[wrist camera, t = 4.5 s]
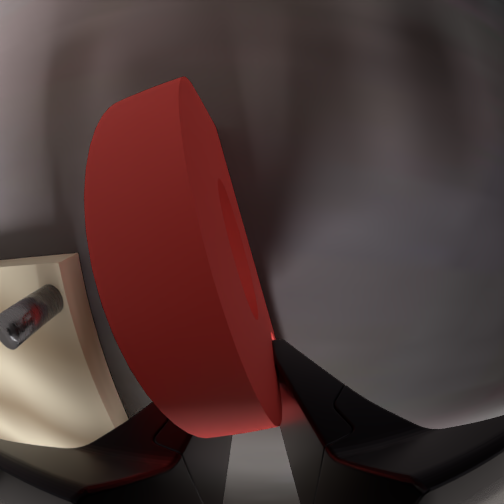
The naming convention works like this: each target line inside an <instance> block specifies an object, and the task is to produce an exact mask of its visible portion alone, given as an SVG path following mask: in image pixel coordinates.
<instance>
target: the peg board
mask: <svg viewBox="0 0 504 504" xmlns="http://www.w3.org/2000/svg"><path fill="white" fill-rule="evenodd" d="M127 420H128V417H127V414H126V412H125V410H124V407H123V405H122V403H121V400H120V398H119V395H118V393H117V390H116V388H115V385H114V382H113V380H112V377H111V374H110V371H109V369H108V366H107V363H106V360H105V357H104V354H103V351H102V348H101V345H100V341H99V338H98V335H97V331H96V328H95V324H94V321H93V317H92V314H91V310H90V306H89V302H88V298H87V294H86V289H85V285H84V280H83V275H82V271H81V266H80V260H79V255H78V253H70V254H60V255H49V256H38V257H28V258H18V259H8V260H0V439H3V440H7V441H13V442H19V443H25V444H32V445H39V446H48V447H58V448H77V447H82V446H85V445H87V444H89V443H91V442H93V441H95V440H97V439H98V438H100V437H102V436H103V435H105V434H106V433H108V432H110V431H111V430H113V429H114V428H116V427H118V426H119V425H121V424H122V423H124V422H126V421H127Z"/></svg>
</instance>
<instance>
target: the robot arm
mask: <svg viewBox="0 0 504 504" xmlns="http://www.w3.org/2000/svg"><path fill="white" fill-rule="evenodd" d="M272 347H273V356H274V362H275V367H276V371H277V376H278V380H279V386H280V393H281V402H282V421H281V424H280V428H281V432H282V436H283V440H284V444H285V448H286V451H287V455H288V459H289V463H290V467H291V470H292V474H293V478H294V482H295V485H296V489H297V493H298V496H299V500H300V504H504V415H503V416H499V417H496V418H492V419H488V420H484V421H480V422H475V423H471V424H466V425H461V426H456V427H451V428H445V429H429V428H424V427H421V426H418V425H416V424H414V423H412V422H410V421H408V420H406V419H403V418H401V417H399V416H397V415H395V414H393V413H391V412H389V411H387V410H385V409H383V408H381V407H380V406H378V405H376V404H374V403H372V402H371V401H369V400H367V399H365V398H364V397H362V396H361V395H359V394H358V393H356V392H355V391H353V390H352V389H350V388H349V387H348V386H345V385H344V384H343V383H342V382H340V381H339V380H338V379H336V378H335V377H333V376H332V375H331V374H329V373H328V372H327V371H325V370H324V369H322V368H321V367H320V366H318V365H317V364H316V363H314V362H313V361H312V360H310V359H309V358H308V357H306V356H305V355H304V354H302V353H301V352H300V351H298V350H297V349H296V348H294V347H293V346H292V345H290V344H289V343H288V342H286V341H285V340H283V339H280V340H272ZM231 441H232V435H228V436H220V437H212V438H201V437H197V436H194V435H192V434H189V433H187V432H186V431H184V430H183V429H181V428H179V427H178V426H177V425H175V424H174V423H173V422H172V421H171V420H170V419H169V418H167V417H166V416H165V415H164V414H163V413H162V412H161V411H160V410H159V408H158V407H157V406H156V405H155V404H154V402H151V403H150V404H149V405H148V406H146V407H145V408H144V409H143V410H141V411H140V412H139V413H137V414H136V415H134V416H133V417H131V418H130V419H128V420H127V421H126V422H124V423H122V424H121V425H119V426H118V427H116V428H114V429H113V430H111V431H110V432H108V433H106V434H105V435H103V436H102V437H100V438H98V439H97V440H95V441H93V442H91V443H89V444H87V445H85V446H82V447H77V448H58V447H48V446H39V445H32V444H25V443H19V442H13V441H7V440H3V439H0V504H223V497H224V490H225V483H226V476H227V469H228V462H229V455H230V448H231Z"/></svg>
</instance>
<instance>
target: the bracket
mask: <svg viewBox="0 0 504 504" xmlns="http://www.w3.org/2000/svg"><path fill="white" fill-rule="evenodd" d="M84 206H85V225H86V235H87V242H88V248H89V255H90V260H91V266H92V270H93V274H94V278H95V282H96V286H97V290H98V293H99V297H100V300H101V304H102V307H103V309H104V312H105V315H106V318H107V320H108V323H109V325H110V328H111V330H112V333H113V335H114V338H115V340H116V342H117V344H118V346H119V348H120V350H121V352H122V354H123V356H124V358H125V360H126V362H127V364H128V366H129V368H130V370H131V371H132V373H133V374H134V376H135V377H136V379H137V381H138V382H139V384H140V385H141V387H142V388H143V390H144V391H145V392H146V394H147V395H148V396H149V398H150V399H151V400H152V401H153V402H154V404H155V405H156V406H157V407H158V408H159V410H160V411H161V412H162V413H163V414H164V415H165V416H166V417H167V418H169V419H170V420H171V421H172V422H173V423H174V424H175V425H177V426H178V427H179V428H181V429H183V430H184V431H186V432H187V433H189V434H192V435H194V436H197V437H201V438H212V437H220V436H228V435H234V434H241V433H247V432H252V431H258V430H263V429H268V428H273V427H278V426H280V424H281V421H282V402H281V393H280V386H279V380H278V376H277V371H276V367H275V362H274V356H273V347H272V340H276V338H275V334H274V331H273V327H272V324H271V320H270V317H269V313H268V310H267V306H266V303H265V299H264V296H263V292H262V289H261V285H260V281H259V278H258V274H257V271H256V267H255V264H254V260H253V257H252V253H251V250H250V246H249V243H248V239H247V235H246V232H245V228H244V225H243V221H242V218H241V214H240V211H239V207H238V204H237V200H236V197H235V193H234V189H233V186H232V182H231V179H230V175H229V172H228V168H227V165H226V161H225V158H224V154H223V150H222V147H221V143H220V140H219V136H218V133H217V129H216V126H215V124H214V123H213V121H212V119H211V117H210V115H209V114H208V112H207V110H206V108H205V106H204V105H203V103H202V101H201V99H200V97H199V96H198V94H197V92H196V90H195V89H194V87H193V85H192V84H191V82H190V81H189V80H188V78H186V77H180V78H177V79H174V80H171V81H169V82H166V83H163V84H160V85H158V86H155V87H152V88H150V89H147V90H145V91H142V92H140V93H137V94H135V95H132V96H130V97H128V98H125V99H123V100H121V101H119V102H116V103H115V104H113V105H112V106H111V107H109V108H108V109H107V111H106V112H105V113H104V114H103V116H102V117H101V119H100V121H99V123H98V125H97V127H96V129H95V132H94V135H93V138H92V141H91V144H90V149H89V154H88V159H87V165H86V174H85V190H84Z"/></svg>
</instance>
